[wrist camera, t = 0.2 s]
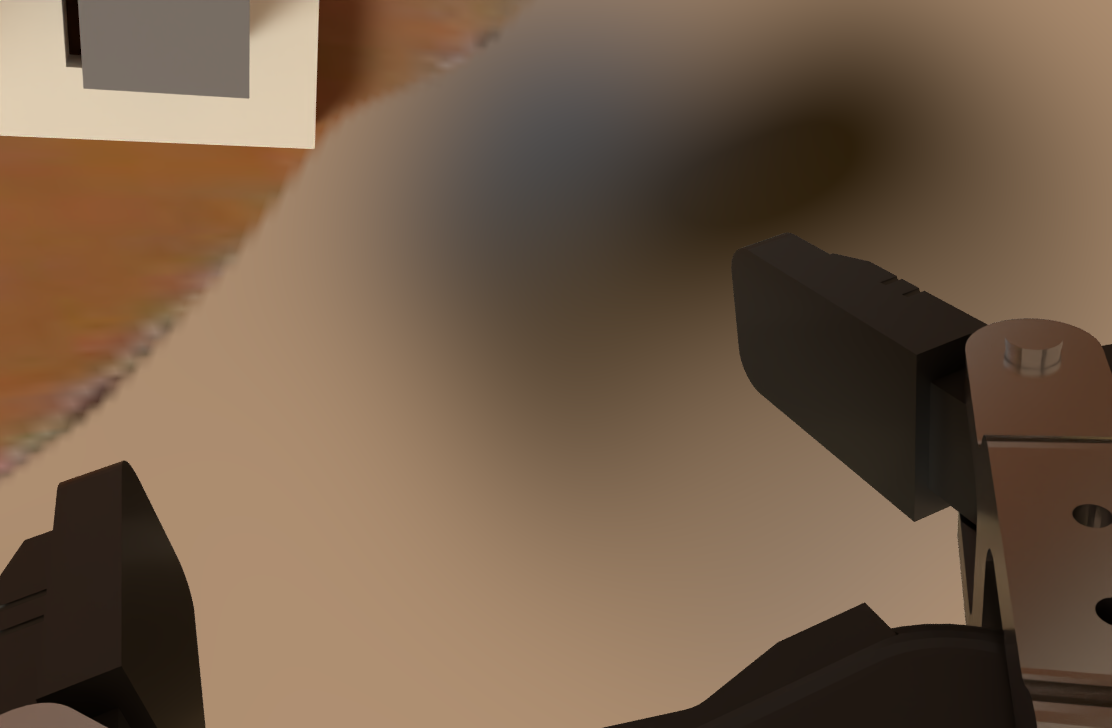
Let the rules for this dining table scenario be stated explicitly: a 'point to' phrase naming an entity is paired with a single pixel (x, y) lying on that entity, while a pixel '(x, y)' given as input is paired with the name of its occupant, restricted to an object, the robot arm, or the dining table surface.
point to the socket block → (73, 112)
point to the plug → (166, 46)
